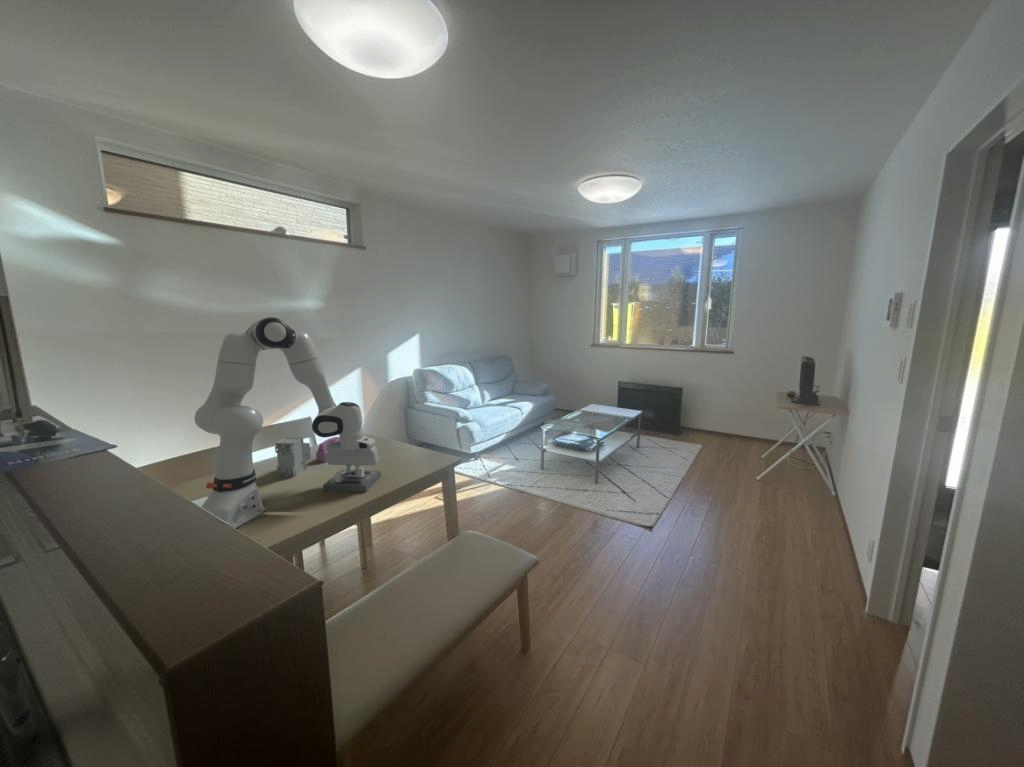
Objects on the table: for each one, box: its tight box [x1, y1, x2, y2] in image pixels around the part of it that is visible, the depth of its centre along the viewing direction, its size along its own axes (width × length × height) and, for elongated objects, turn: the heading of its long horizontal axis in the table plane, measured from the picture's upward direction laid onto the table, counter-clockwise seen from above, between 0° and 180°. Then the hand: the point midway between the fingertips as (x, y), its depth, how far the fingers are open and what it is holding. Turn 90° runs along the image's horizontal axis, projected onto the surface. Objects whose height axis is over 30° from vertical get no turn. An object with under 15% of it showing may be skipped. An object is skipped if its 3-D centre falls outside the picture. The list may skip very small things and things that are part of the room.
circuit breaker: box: [274, 436, 312, 478], centre depth 180 cm, size 8×14×15 cm, turn 174°
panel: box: [322, 469, 382, 493], centre depth 168 cm, size 16×17×3 cm
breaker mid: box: [357, 467, 365, 478], centre depth 167 cm, size 2×2×4 cm
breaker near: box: [334, 471, 342, 482], centre depth 162 cm, size 2×2×4 cm
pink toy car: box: [315, 436, 340, 463], centre depth 198 cm, size 18×6×10 cm, turn 164°
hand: (354, 474), depth 167 cm, fingers closed
